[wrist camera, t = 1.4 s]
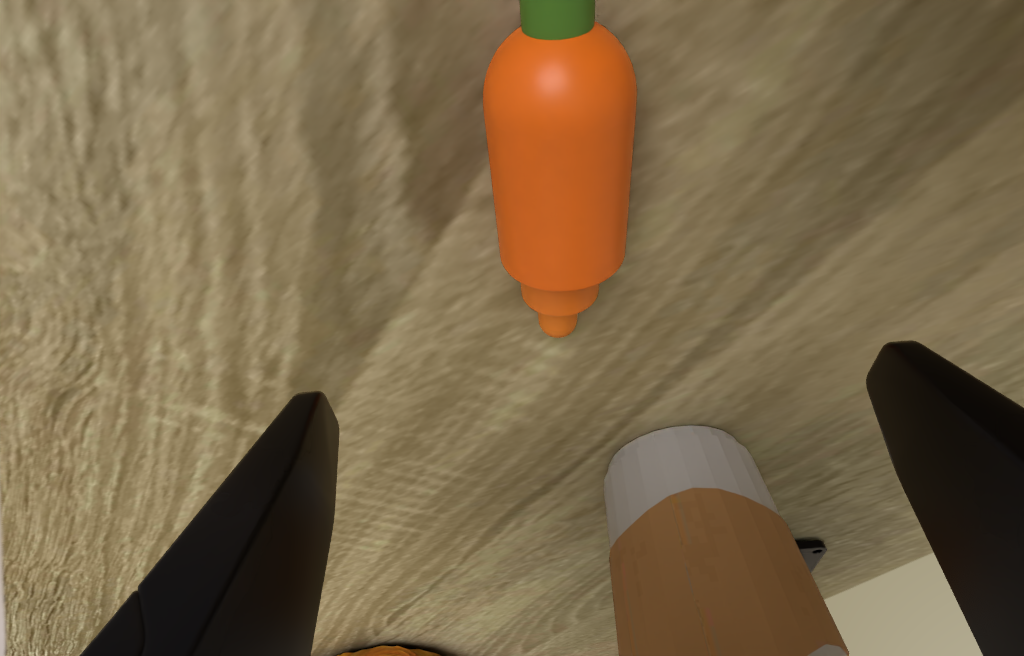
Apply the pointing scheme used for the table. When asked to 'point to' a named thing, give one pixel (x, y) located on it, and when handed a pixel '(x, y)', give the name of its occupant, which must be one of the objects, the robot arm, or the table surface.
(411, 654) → the croissant
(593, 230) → the carrot
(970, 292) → the table surface
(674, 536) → the coffee cup
